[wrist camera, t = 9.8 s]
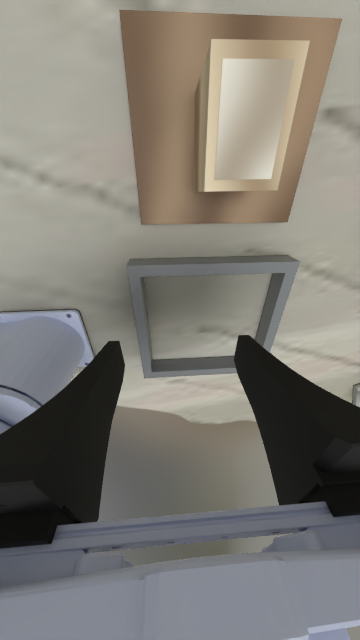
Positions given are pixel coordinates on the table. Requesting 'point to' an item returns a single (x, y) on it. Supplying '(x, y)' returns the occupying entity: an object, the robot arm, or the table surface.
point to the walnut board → (179, 110)
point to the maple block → (245, 113)
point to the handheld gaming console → (356, 395)
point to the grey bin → (156, 267)
